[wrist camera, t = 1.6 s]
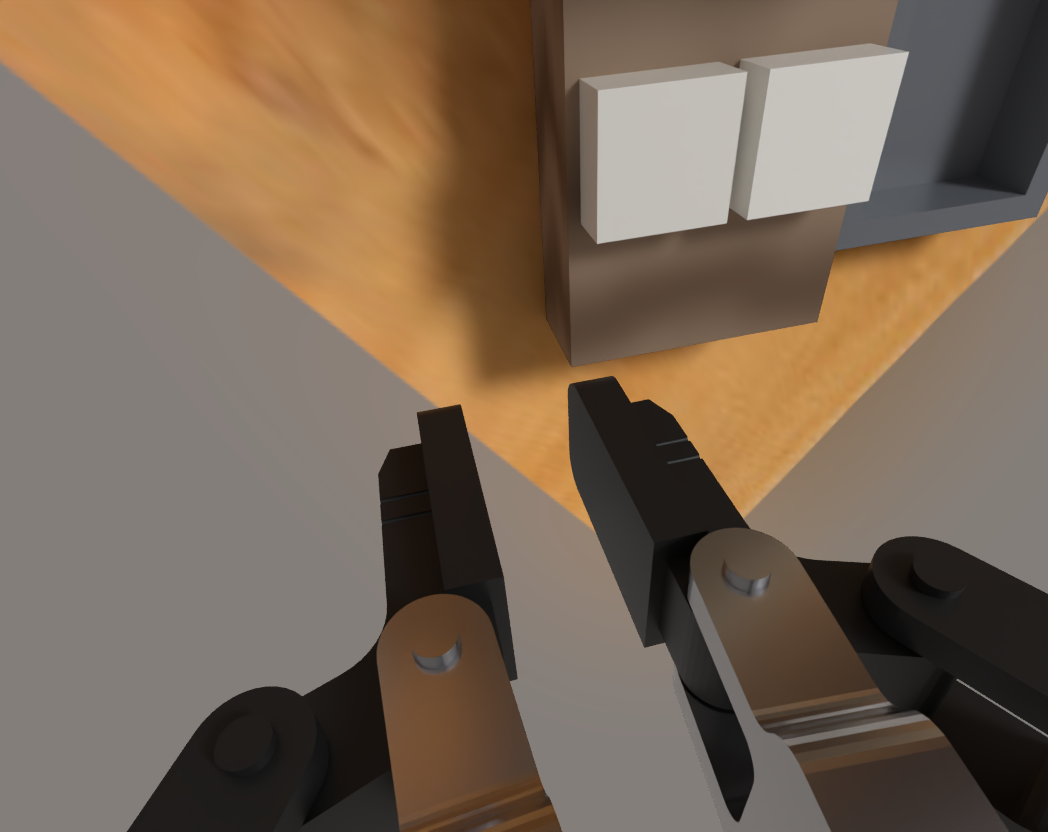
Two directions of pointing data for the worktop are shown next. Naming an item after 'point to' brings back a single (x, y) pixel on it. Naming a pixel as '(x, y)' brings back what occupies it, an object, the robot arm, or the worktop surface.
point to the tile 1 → (658, 149)
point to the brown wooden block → (689, 255)
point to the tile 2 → (813, 128)
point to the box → (961, 122)
